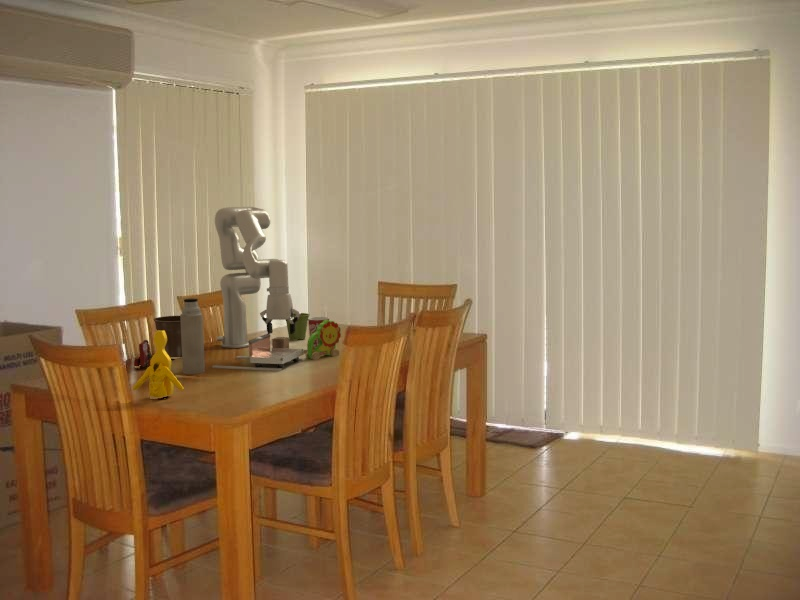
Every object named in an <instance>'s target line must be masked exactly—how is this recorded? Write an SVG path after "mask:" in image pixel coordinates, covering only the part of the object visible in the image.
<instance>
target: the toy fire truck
mask: <svg viewBox="0 0 800 600" xmlns="http://www.w3.org/2000/svg"><path fill="white" fill-rule="evenodd" d="M138 351H139V356H138V358H135V359H134V362H133V364H134V366H139V365H141V366H146V365H147V366H151V365H150V360H151V358H152V357H153V355H152V350H151V346H150V344H149V340H148V339H144V340H143V341H141V342H140V343H138ZM147 366H146V367H147Z"/></svg>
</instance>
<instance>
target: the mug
mask: <svg viewBox="0 0 800 600" xmlns="http://www.w3.org/2000/svg"><path fill="white" fill-rule="evenodd" d="M324 320H328V321H330V317H329V316H312V317H309V318H308V322H307V323H308V330H309V331H308V332H309V333H308V334H309V337H310V336H311V335H312V334H313V333H315V332H316V329H317V328H318V326H319V324H320V323H322V322H323V321H324ZM318 345H319V340H318V338H316V339H315V340H314V343H313V347H314V349H315V348H316V347H317V346H318Z"/></svg>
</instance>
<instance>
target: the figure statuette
mask: <svg viewBox="0 0 800 600" xmlns="http://www.w3.org/2000/svg"><path fill="white" fill-rule="evenodd" d="M153 343H154V347H155V348H156V351H154V354H153V355H152V358H151V360H150V365H151V366H149V367H147V368H146V370H145V372H143V375H141V377H139V378H138V380H137V381H136V382H135V384H134V385H133V386H132V388H131V389H132V390H133V391H137V390H138V389H139V388H140V387H142V385H143V384H144V383H145V382H146V381H147V380H148V379H149V383H148V389H149V390H148V392H149V393H148V394H149V396H154V397H164V396H167V395H171V394H172V395H173V394H174V390H175V387H176V388H177V389H178V390H179V391H181V392H183V390H185V388H184V386H183V385H182V384H181V382H180V381H179V380H178V379H177V377H176V376H175V375H174V373H173V372H172V371H171V370H172V369H171V368H172V360H171V358H170V357H169V355H168V354H167V353H166V351H165V346H166V343H167V336H166V333H165V331H164V330H163V331H160V330H158V331H157V330H155V333H154V335H153Z"/></svg>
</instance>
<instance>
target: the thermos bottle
mask: <svg viewBox="0 0 800 600" xmlns="http://www.w3.org/2000/svg"><path fill="white" fill-rule="evenodd" d="M183 302H184V304H183V307H182V309H181V314H180V315H179V316H180V319H181V342H182V358H181V360H182V361H181V363H182V373H183V374H184V375H197V374H202V373H205V371H206V365H205V364H206V363H205V343H204V342H205V341H204V339H205V338H204V337H205V336H204V320H203V318H204V316H203V313H202V312H201V311H202V310H201V307H200V306H199V303H198V298H184V299H183Z"/></svg>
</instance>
